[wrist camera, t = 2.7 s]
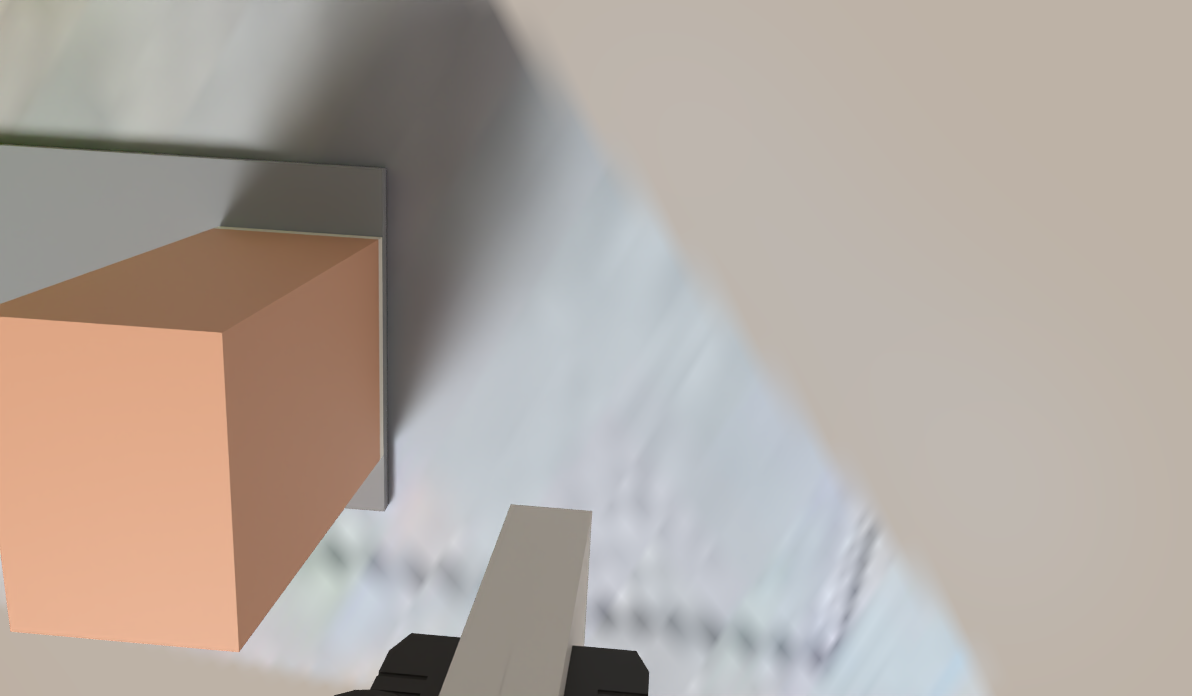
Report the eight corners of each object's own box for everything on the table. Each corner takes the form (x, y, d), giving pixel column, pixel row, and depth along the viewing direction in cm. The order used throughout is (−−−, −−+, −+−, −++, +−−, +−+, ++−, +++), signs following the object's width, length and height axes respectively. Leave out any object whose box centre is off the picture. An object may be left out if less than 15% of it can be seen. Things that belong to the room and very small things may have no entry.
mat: (-130, 135, 30) (-140, 136, 30) (385, 168, 29) (382, 169, 29) (-80, 467, 33) (-89, 472, 33) (387, 505, 32) (384, 511, 32)
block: (219, 225, 30) (-30, 314, 19) (382, 237, 29) (222, 332, 19) (231, 442, 32) (10, 631, 21) (384, 454, 31) (238, 652, 21)
